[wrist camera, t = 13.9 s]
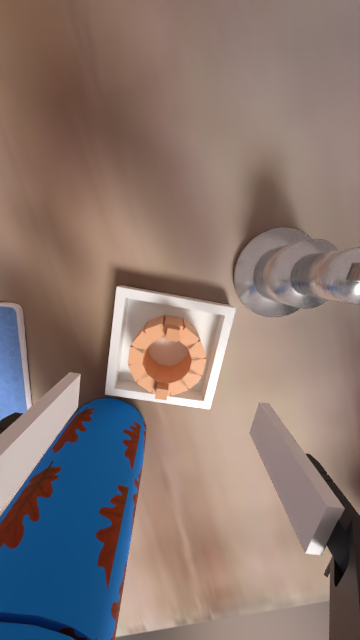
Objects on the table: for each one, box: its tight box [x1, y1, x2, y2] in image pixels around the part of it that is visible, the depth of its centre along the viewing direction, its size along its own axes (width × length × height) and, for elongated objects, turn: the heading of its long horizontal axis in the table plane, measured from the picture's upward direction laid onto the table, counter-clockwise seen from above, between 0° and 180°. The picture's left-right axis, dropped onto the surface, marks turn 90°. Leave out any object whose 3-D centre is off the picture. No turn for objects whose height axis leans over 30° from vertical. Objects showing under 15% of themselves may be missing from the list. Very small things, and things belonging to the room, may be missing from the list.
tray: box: [105, 285, 236, 409], centre depth 23 cm, size 13×13×2 cm
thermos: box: [0, 398, 146, 640], centre depth 15 cm, size 11×11×25 cm
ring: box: [128, 315, 207, 400], centre depth 21 cm, size 8×8×5 cm
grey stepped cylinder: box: [234, 227, 360, 317], centre depth 17 cm, size 10×10×12 cm
